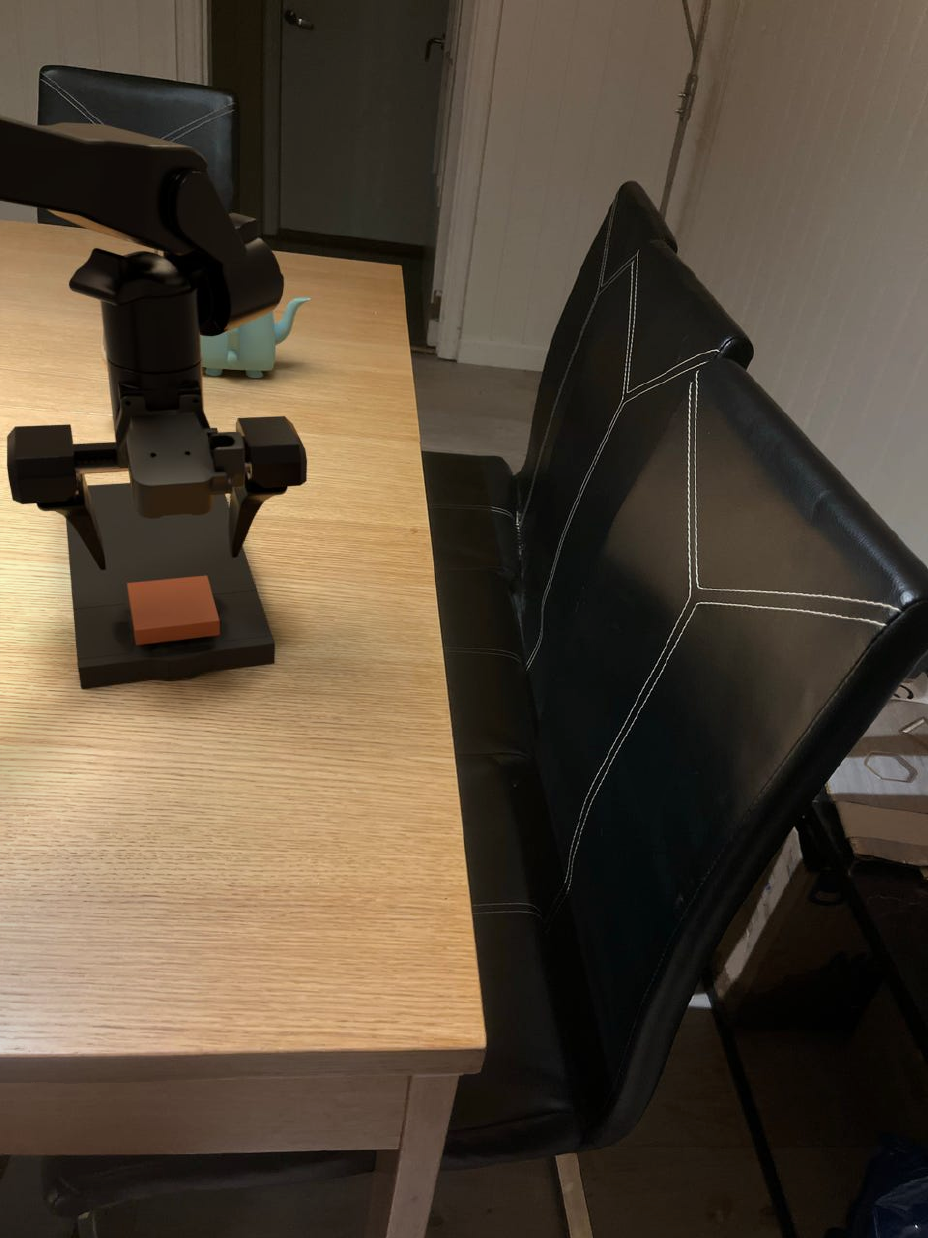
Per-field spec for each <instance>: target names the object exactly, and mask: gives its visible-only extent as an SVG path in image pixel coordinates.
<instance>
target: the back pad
mask: <svg viewBox="0 0 928 1238" xmlns="http://www.w3.org/2000/svg"><path fill="white" fill-rule="evenodd" d="M87 486H88V490H89V494H90V497H91V501H92V505H93V508H94V512H95V516H96V519H97V523H98V527H99V530H100V534H101V538H102V542H103V548H104V556H105V564H106V570H100V569H99V567H98V566H97V564H96V562H95V561H94V559H93V557H92V556H91V554H90V552H89V551H88V549H87V547H86V546H85V544H84V542H83V541H82V539H81V537H80V536H79V534H78V533H77V531H76V530H75V528H74V527H73V526H72V525H71V524H70V522H69V521H68V520H67V519H66V518H65V525H66V537H67V549H68V563H69V572H70V573H69V575H70V586H71V599H72V610H73V624H74V636H75V647H76V659H77V660H76V661H77V670H78V671H77V672H78V678H79V683H80V688H81V689H89V688H96V687H104V686H111V685H121V684H127V683H133V682H134V683H135V682H141V681H148V680H149V681H150V680H159V681H168V682H169V681H170V682H173V681H179V680H187V679H194V678H198V677H199V676H202V675H203V674H206V673H208V672H216V671H217V672H218V671H224V670H231V669H239V668H245V667H247V668H248V667H253V666H254V667H255V666H259V665H268V664H269V665H270V664H274V663H276V653H275V652H276V642H275V639H274V636H273V633H272V629H271V627H270V624H269V622H268V618H267V615H266V612H265V610H264V606H263V604H262V600H261V597H260V594H259V592H258V588H257V585H256V582H255V579H254V576H253V574H252V570H251V567H250V563H249V562H248V559H247V555H246V551H245V550H244V546H242V548H241V551H240V553H239V555H238V557H237V558H232V556H231V553H230V545H229V532H228V530H229V509H230V503H229V501H228V499H227V496H226V495H227V494H220V495H214V506H213V508H212V510H211V511H210V512H208V513H206V514H203V515H192V514H180V515H166V516H162V517H160V518H152V519H150V518H144V517H142V516H140V515H139V514H137V513H136V511H135V509H134V505H133V498H132V491H131V485H130V482H122V483H121V482H120V483H105V484H87ZM197 576H207V577H208V581H209V584H210V588H211V592H212V595H213V599H214V603H215V606H216V610H217V614H218V617H219V623H220V635H217V636H209V637H200V638H192V639H188V640H185V641H179V642H159V643H150V644H142V645H136V642H135V636H134V629H133V623H132V616H131V610H130V604H129V597H128V588H127V583H135V582H145V581H155V580H166V579H176V578H186V577H197Z"/></svg>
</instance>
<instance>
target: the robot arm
mask: <svg viewBox="0 0 928 1238" xmlns="http://www.w3.org/2000/svg"><path fill="white" fill-rule="evenodd" d="M0 202H4V203H9V204H15V205H21V206H25V207H31V208H35V209H36V208H37V209H43V210H46V211H48V212H50V213H52V214H53V215H55V216H56V217H59V218H62V219H64V220H66V221H68V222H70V223H73V224H76V225H77V226H80V227H82V228H84V229H87V230H89V231H92V232H95V233H99V234H102V235H106V236H108V237H113V238H115V239H118V240H123V241H125V242H129V243H132V244H136V245H138V246H141V247H142V246H143V247H146V248H149V249H152V250H154V249H156V250H158V252H159V251H160V252H162V254H163V255H160V254H159V253H158V254H155V253H154V252H152V251H147V250H138V251H134V252H131V253H126V254H124V255H122V254H119V253H116V252H112V251H109V250H106V249H102V248H98V247H94V248H93V249H92V250H91V253H90V255H89V257H88V259H87V260H86V261H85V262H84V264H82V265H81V266H79V268H77V269H76V270H75V272H74V273H73V275H72V276H71V277H70V279H69V281H68V287H69V289H70V291H71V292H73V293H77V294H79V295H83V296H85V297H86V296H87V297H89V298H93V299H95V300H99V303H100V311H101V320H102V326H103V331H104V340H105V349H106V359H107V368H108V372H107V374H108V375H107V376H108V377H107V378H108V386H109V394H110V404H111V412H112V422H113V423H112V424H113V432H114V440H115V441H106V442H87V443H84V442H83V443H74V438H73V437H74V436H73V430H72V424H70V423H69V424H67V423H66V424H46V425H45V424H43V425H41V424H40V425H19V426H17V425H16V426H14V427H13V428H12V430H10V432H9V433H8V435H7V436H6V469H7V477H8V483H9V489H10V494H11V498H12V501H13V502H16V503H18V504H20V505H30V504H31V505H32V504H34V505H35V504H36V507H37V508H38V509H39V510H40V511H41V512H56V513H57V514H59V515H61V516H63V517H64V518H65V520H66V519H67V520H68V521H69V522H70V524H71V525H72V526H73V527H74V528H75V530H76V531H77V533H78V534H79V536H80V537H81V539H82V541H83V542H84V544H85V546H86V547H87V549H88V551H89V552H90V554H91V556H92V557H93V559H94V561H95V562H96V564H97V566H98V567H99V569H100V570H106V564H105V556H104V548H103V542H102V538H101V534H100V530H99V527H98V523H97V519H96V516H95V512H94V508H93V505H92V501H91V497H90V494H89V490H88V486H87V485H88V483H87V479H86V475H88V474H89V475H90V474H106V473H107V474H109V473H121V472H122V473H123V472H124V473H126V472H127V473H128V477H129V483H130V485H131V491H132V498H133V505H134V509H135V511H136V513H137V514H139V515H140V516H142V517H144V518H150V519H152V518H160V517H162V516H166V515H180V514H192V515H203V514H206V513H208V512H210V511H211V510H212V508H213V506H214V495H220V494H225V495H229V507H230V509H229V530H228V532H229V545H230V553H231V556H232V558H237V557H238V555H239V553H240V551H241V548H242V546H243V545H244V543H245V541H246V539H247V536H248V534H249V531H250V529H251V526H252V525H253V522H254V520H255V518H256V516H257V514H258V513H259V511H260V509H261V507H262V505H263V504H264V503H265V502H266V501H267V500H269V499H271V498H273V497H275V496H276V497H277V496H282V495H285V494H286V493H287V491H288V488H289V487H301V486H302V485H303V484H305V483H306V482H307V479H308V476H307V475H308V457H307V452H306V447H305V446H304V443H303V442H302V440H301V439H302V438H301V437H300V436H299V434H298V431H297V429H296V428H295V425H294V424H293V422H292V421H290V419H288V417H286V416H285V415H280V416H279V415H278V416H277V415H276V416H252V417H251V416H250V417H237V418H236V422H235V431H223V432H222V431H220V432H219V431H218V428H217V427H211V425H210V423H209V420H208V418H207V416H206V414H205V413H206V412H205V405H204V403H205V402H204V380H203V367H202V356H201V335H203V336H212V337H213V336H217V335H220V334H223V333H225V332H227V331H230V330H232V329H234V328H236V327H239V326H241V325H243V324H246V323H248V322H250V321H253V320H255V319H257V318H259V317H262V316H264V315H266V314H268V313H270V312H271V311H273V312H274V311H275V310H276V309H277V307H278V306H279V305H280V302H281V300H282V298H283V295H284V290H285V277H284V274H283V273H282V271H281V267H280V264H279V262H278V259H277V257H276V255H275V253H274V252H273V251H272V249H271V247H270V246H269V245H268V244H267V243H266V242H265V241H264V240H263V239H262V238H261V237H260V235H259V234H260V233H259V232H260V231H259V229H260V228H259V226H260V225H259V224H260V223H259V220H258V219H257V218H255V217H250V216H248V215H243V214H240V213H236V212H231V213H229V211H228V210H227V207H226V205H224V202H223V200H222V198H221V196H220V195H219V192H218V190H217V189H216V187H215V184H214V183H213V181H212V180H211V179H210V175H209V173H208V161H207V159H206V158H205V156H203V154H202V152H200V151H199V150H196V149H194V148H193V147H192V146H189V145H185V144H181V143H177V142H174V141H169V140H165V139H162V138H159V137H154V136H150V135H146V134H142V133H138V132H135V131H129V130H128V129H127V130H126V129H123V128H119V127H115V126H111V125H108V124H103V123H86V122H85V123H83V122H81V123H80V122H58V123H55V124H50V125H39V124H33V123H29V122H27V121H23V120H19V119H16V118H11V117H8V116H6V115H5V116H4V115H1V114H0ZM243 547H244V546H243Z"/></svg>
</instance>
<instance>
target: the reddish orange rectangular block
mask: <svg viewBox="0 0 928 1238" xmlns="http://www.w3.org/2000/svg"><path fill="white" fill-rule="evenodd" d="M127 588H128V597H129V604H130V610H131V616H132V623H133V629H134V636H135V642H136V645H142V644H150V643H159V642H179V641H185V640H188V639H192V638H200V637H209V636H217V635H220V623H219V617H218V614H217V610H216V606H215V603H214V599H213V595H212V592H211V588H210V584H209V581H208V577H207V576H197V577H186V578H176V579H166V580H155V581H145V582H135V583H127Z"/></svg>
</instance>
